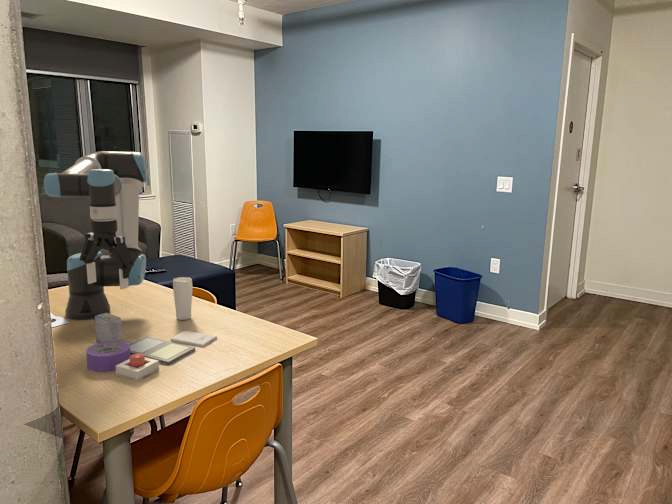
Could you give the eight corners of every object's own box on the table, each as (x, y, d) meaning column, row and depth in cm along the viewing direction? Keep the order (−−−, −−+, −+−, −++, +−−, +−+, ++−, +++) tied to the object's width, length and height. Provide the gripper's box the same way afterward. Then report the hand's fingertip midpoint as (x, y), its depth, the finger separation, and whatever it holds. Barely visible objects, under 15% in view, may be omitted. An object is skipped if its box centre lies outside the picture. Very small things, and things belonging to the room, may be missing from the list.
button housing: (116, 375, 142) (115, 365, 141) (137, 364, 149) (137, 355, 148) (138, 381, 139) (137, 371, 138) (158, 370, 146) (158, 360, 145)
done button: (126, 367, 142) (126, 357, 142) (137, 362, 146) (136, 352, 145) (137, 370, 141) (137, 360, 140) (148, 365, 144) (147, 355, 144)
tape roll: (114, 352, 157) (113, 337, 156) (139, 361, 152) (138, 345, 151) (78, 366, 147) (77, 349, 146) (104, 376, 142) (103, 359, 141)
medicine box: (123, 342, 165) (121, 317, 163) (110, 346, 161) (109, 320, 159) (108, 336, 169) (106, 312, 167) (95, 341, 165) (94, 315, 164)
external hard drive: (185, 334, 175) (217, 339, 171) (170, 343, 167) (203, 348, 163) (185, 330, 174) (216, 335, 171) (170, 338, 167) (203, 344, 163)
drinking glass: (196, 315, 192) (194, 277, 189) (189, 321, 185) (187, 282, 182) (178, 314, 192) (177, 276, 189) (171, 320, 186) (169, 281, 183)
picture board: (118, 352, 157) (117, 348, 157) (146, 339, 168) (146, 336, 168) (168, 364, 149) (168, 361, 149) (195, 350, 160) (195, 347, 160)
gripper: (64, 217, 159) (69, 283, 163) (125, 224, 149) (129, 293, 154) (84, 215, 165) (88, 278, 170) (143, 221, 156) (147, 287, 160)
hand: (108, 285), depth 162 cm, fingers open, 13 cm apart
